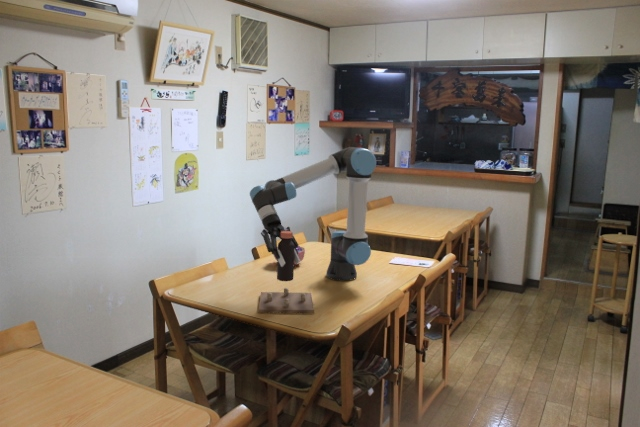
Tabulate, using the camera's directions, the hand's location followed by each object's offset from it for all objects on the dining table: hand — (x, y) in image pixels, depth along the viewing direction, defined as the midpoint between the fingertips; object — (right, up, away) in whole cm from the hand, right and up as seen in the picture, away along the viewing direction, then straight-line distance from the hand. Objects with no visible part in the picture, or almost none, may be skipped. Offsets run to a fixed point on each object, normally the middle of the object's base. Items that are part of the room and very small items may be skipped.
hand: (290, 263), depth 219 cm
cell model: (-5, -7, +69) cm, 70 cm away
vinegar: (-3, -7, +4) cm, 9 cm away
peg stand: (-2, -17, +6) cm, 19 cm away
